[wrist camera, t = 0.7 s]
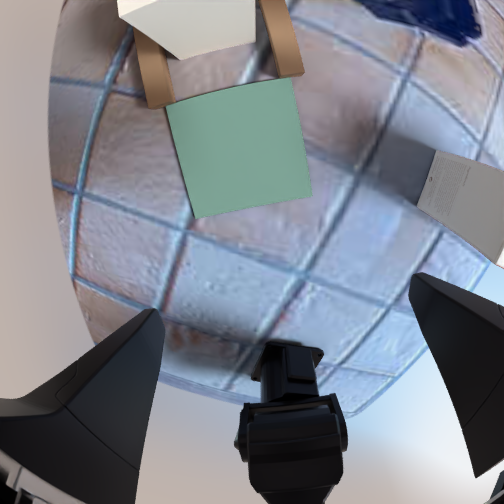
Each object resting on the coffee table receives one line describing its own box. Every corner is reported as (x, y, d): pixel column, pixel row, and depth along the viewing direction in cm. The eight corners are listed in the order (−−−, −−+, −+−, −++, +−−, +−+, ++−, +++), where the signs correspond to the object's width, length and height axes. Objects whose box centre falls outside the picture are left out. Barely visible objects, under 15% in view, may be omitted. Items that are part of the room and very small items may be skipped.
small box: (413, 205, 20) (493, 265, 11) (435, 147, 18) (527, 178, 8) (465, 232, 21) (532, 287, 12) (485, 183, 19) (560, 224, 9)
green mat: (311, 195, 20) (312, 196, 20) (196, 217, 21) (195, 218, 21) (289, 78, 16) (290, 77, 16) (166, 106, 17) (165, 106, 17)
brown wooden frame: (301, 75, 16) (304, 72, 15) (156, 109, 17) (148, 108, 16) (264, -43, 11) (265, -52, 9) (133, -10, 12) (126, -16, 11)
